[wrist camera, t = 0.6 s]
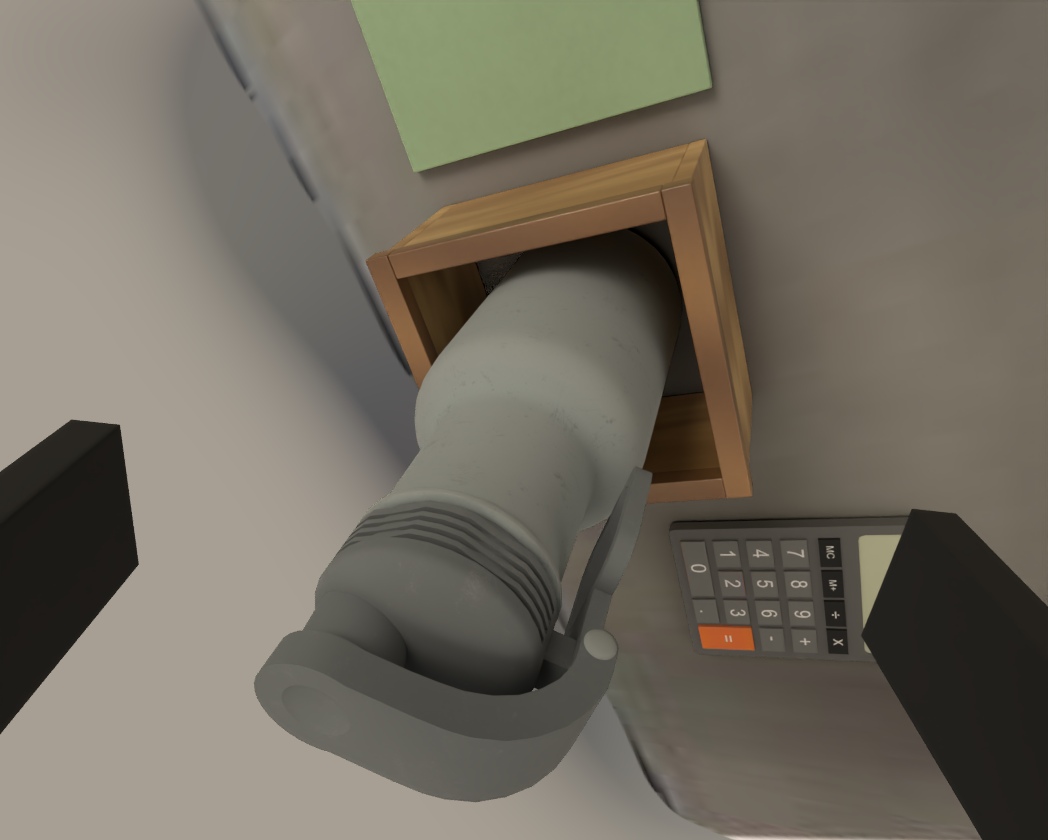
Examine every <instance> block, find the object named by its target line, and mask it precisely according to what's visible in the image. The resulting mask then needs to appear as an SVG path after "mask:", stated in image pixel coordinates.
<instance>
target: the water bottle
mask: <svg viewBox="0 0 1048 840" xmlns="http://www.w3.org/2000/svg"><path fill="white" fill-rule="evenodd" d="M681 313H682V307H681V297H680V292H679V288H678V285H677V282H676V279H675V276H674V274H673V272H672V271H671V269H670V267H669V265H668V264H667V262H666V260H665V259H664V258H663V257H662V256H661V254H660V253H659V252H658V251H657V250H656V249H655V248H654V247H653V246H652V245H651V244H649V243H648V242H647V241H646V240H644V239H643V238H642V237H640V236H639V235H637V234H635V233H633V232H631V231H629V230H627V229H623V230H619V231H614V232H609V233H605V234H600V235H596V236H591V237H587V238H582V239H578V240H573V241H569V242H564V243H560V244H555V245H551V246H546V247H542V248H537V249H533V250H528V251H525V252H524V253H523V254H522V256H521V257H520V258H519V259H518V260H517V262H516V263H515V264H514V265H513V266H512V268H511V269H510V270H509V271H508V273H507V274H506V275H505V276H504V277H503V279H502V280H501V281H500V282H499V283H498V285H497V286H496V287H495V288H494V289H493V291H492V292H491V293H490V294H489V296H488V297H487V298H486V299H485V300H484V302H483V303H482V304H481V305H480V306H479V308H478V309H477V310H476V311H475V312H474V314H473V315H472V316H471V317H470V318H469V320H468V321H467V322H466V323H465V325H464V326H463V327H462V328H461V329H460V331H459V332H458V333H457V334H456V335H455V337H454V338H453V339H452V340H451V341H450V343H449V344H448V345H447V346H446V348H445V349H444V350H443V351H442V352H441V354H440V355H439V356H438V358H437V359H436V361H435V362H434V364H433V365H432V367H431V368H430V369H429V371H428V373H427V374H426V376H425V378H424V380H423V382H422V385H421V388H420V391H419V394H418V396H417V401H416V409H415V427H416V436H417V441H418V444H419V447H420V452H419V453H418V455H417V456H416V458H415V459H414V460H413V462H412V463H411V465H410V466H409V467H408V469H407V470H406V472H405V473H404V474H403V476H402V477H401V479H400V480H399V481H398V483H397V484H396V486H395V487H394V489H393V490H392V491H391V493H390V494H389V495H388V496H385V497H383V498H382V499H381V500H379V501H378V502H377V503H375V504H374V505H373V506H372V507H370V508H369V509H368V511H367V512H366V514H365V515H364V516H363V518H362V519H361V521H360V523H359V524H358V525H357V527H356V529H355V530H354V531H353V532H352V534H351V535H350V536H349V538H348V539H347V541H346V542H345V544H344V545H343V546H342V547H341V549H340V550H339V552H338V553H337V554H336V556H335V557H334V559H333V560H332V561H331V563H330V564H329V565H328V567H327V568H326V570H325V571H324V572H323V574H322V575H321V577H320V579H319V582H318V585H317V588H316V591H315V611H314V612H313V614H312V616H311V617H310V619H309V621H308V622H307V624H306V626H305V627H304V629H303V631H297V632H293V633H290V634H288V635H287V636H285V637H284V638H283V639H282V641H281V642H280V643H279V645H278V646H277V648H276V649H275V650H274V652H273V653H272V654H271V656H270V657H269V659H268V660H267V661H266V663H265V664H264V666H263V667H262V668H261V670H260V671H259V673H258V674H257V675H256V678H255V682H254V687H255V693H256V696H257V698H258V700H259V702H260V704H261V706H262V707H263V708H264V710H265V711H266V712H267V714H268V715H269V716H270V717H271V718H272V719H273V720H274V721H275V722H276V723H277V724H278V725H279V726H281V727H282V728H283V729H284V730H286V731H287V732H288V733H290V734H292V735H293V736H295V737H296V738H298V739H299V740H301V741H304V742H305V743H307V744H309V745H311V746H314V747H316V748H319V749H321V750H325V751H328V752H331V753H333V754H335V755H338V756H340V757H342V758H344V759H346V760H348V761H350V762H353V763H355V764H357V765H359V766H361V767H363V768H366V769H368V770H370V771H372V772H374V773H376V774H379V775H381V776H383V777H385V778H387V779H390V780H392V781H394V782H396V783H399V784H401V785H404V786H406V787H409V788H411V789H414V790H416V791H418V792H421V793H424V794H427V795H431V796H435V797H438V798H442V799H448V800H459V801H470V802H480V801H485V800H491V799H497V798H503V797H507V796H509V795H512V794H514V793H517V792H519V791H522V790H524V789H527V788H529V787H532V786H533V785H534V784H536V783H537V782H538V781H540V780H541V779H542V778H544V777H545V776H546V775H548V774H549V773H550V772H552V770H554V769H555V768H556V767H557V765H558V764H559V763H560V762H561V760H562V759H563V758H564V756H565V755H566V754H567V753H568V751H569V750H570V749H571V747H572V745H573V744H574V742H575V741H576V739H577V737H578V736H579V734H580V732H581V731H582V729H583V728H584V726H585V724H586V723H587V721H588V720H589V718H590V716H591V715H592V713H593V712H594V710H595V708H596V707H597V705H598V703H599V702H600V700H601V699H602V697H603V695H604V694H605V692H606V691H607V689H608V686H609V683H610V680H611V678H612V675H613V672H614V668H615V663H616V659H617V655H618V649H619V648H618V643H617V641H616V639H615V638H614V636H613V635H612V634H611V633H609V632H608V631H606V630H604V625H605V621H606V617H607V613H608V610H609V606H610V602H611V598H612V595H613V593H614V591H615V589H616V587H617V586H618V584H619V582H620V580H621V578H622V576H623V574H624V572H625V570H626V568H627V565H628V563H629V560H630V558H631V555H632V553H633V550H634V547H635V544H636V541H637V538H638V534H639V531H640V526H641V522H642V518H643V514H644V510H645V506H646V501H647V497H648V493H649V489H650V485H651V480H652V473H651V472H648V471H646V470H644V469H642V468H643V465H644V462H645V459H646V455H647V451H648V447H649V443H650V440H651V436H652V432H653V428H654V424H655V420H656V417H657V413H658V409H659V405H660V401H661V397H662V394H663V390H664V386H665V382H666V378H667V374H668V371H669V367H670V363H671V359H672V355H673V351H674V348H675V344H676V340H677V336H678V332H679V328H680V322H681ZM608 517H609V519H608V521H607V523H606V525H605V527H604V529H603V531H602V533H601V535H600V537H599V539H598V541H597V543H596V545H595V547H594V549H593V552H592V554H591V556H590V559H589V561H588V563H587V566H586V569H585V571H584V574H583V577H582V580H581V583H580V586H579V589H578V592H577V595H576V599H575V602H574V605H573V608H572V612H571V615H570V618H569V621H568V624H567V628H566V631H565V634H564V635H563V634H561V633H558V632H556V631H554V630H553V629H554V626H555V623H556V621H557V619H558V616H559V612H560V609H561V604H562V587H561V581H562V578H563V575H564V572H565V569H566V566H567V563H568V560H569V558H570V555H571V552H572V549H573V546H574V543H575V540H576V537H577V534H578V532H579V531H582V530H585V529H588V528H590V527H592V526H594V525H596V524H598V523H600V522H601V521H603V520H605V519H607V518H608ZM533 688H536V689H538V690H535V691H532V690H533ZM531 691H532V692H531Z"/></svg>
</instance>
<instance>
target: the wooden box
mask: <svg viewBox="0 0 1048 840" xmlns="http://www.w3.org/2000/svg"><path fill="white" fill-rule="evenodd" d="M666 219H667V222H668V227H669V231H670V236H671V241H672V246H673V250H674V255H675V260H676V264H677V269H678V274H679V278H680V283H681V288H682V292H683V297H684V302H685V306H686V311H687V316H688V320H689V325H690V330H691V334H692V339H693V344H694V348H695V353H696V358H697V362H698V367H699V372H700V377H701V381H702V386H703V391H704V392H703V393H695V394H687V395H679V396H671V397H663V398H661V401H660V405H659V409H658V413H657V417H656V420H655V424H654V428H653V432H652V436H651V440H650V443H649V447H648V451H647V455H646V459H645V462H644V465H643V468H642V469H644V470H646V471H648V472H651V473H652V480H651V485H650V489H649V493H648V497H647V501H646V504H647V503H662V502H677V501H692V500H708V499H723V498H726V497H727V498H738V497H751V496H752V489H753V483H752V478H751V472H750V467H749V452H750V435H751V417H752V400H753V397H752V392H751V386H750V380H749V375H748V369H747V364H746V358H745V352H744V347H743V341H742V336H741V330H740V325H739V319H738V313H737V308H736V302H735V297H734V291H733V285H732V280H731V274H730V269H729V263H728V257H727V252H726V246H725V241H724V235H723V230H722V224H721V218H720V213H719V207H718V202H717V196H716V190H715V185H714V179H713V174H712V168H711V163H710V157H709V151H708V146H707V140H706V139H703V140H699V141H695V142H692V143H690V144H684V145H681V146H677V147H673V148H669V149H665V150H661V151H658V152H654V153H650V154H646V155H642V156H638V157H634V158H631V159H627V160H623V161H619V162H615V163H611V164H608V165H604V166H600V167H596V168H592V169H588V170H584V171H581V172H577V173H573V174H569V175H565V176H561V177H558V178H554V179H550V180H546V181H542V182H538V183H534V184H531V185H527V186H523V187H519V188H515V189H511V190H508V191H504V192H500V193H496V194H492V195H488V196H485V197H481V198H477V199H473V200H469V201H465V202H461V203H458V204H455V205H450V206H446V207H443V208H442V209H441V210H439V211H438V212H437V213H435V214H434V215H433V216H432V217H430V218H429V219H428V220H426V221H425V222H424V223H423V224H421V225H420V226H419V227H418V228H416V229H415V230H414V231H412V232H411V233H410V234H409V235H407V236H406V237H405V238H404V239H402V240H401V241H400V242H398V243H397V244H396V245H395V246H393V247H392V248H391V249H390V250H388V251H383V252H379V253H375V254H374V255H373V256H371V257H370V258H369V259H367V260H366V263H367V266H368V268H369V270H370V273H371V275H372V277H373V280H374V282H375V285H376V287H377V289H378V292H379V294H380V297H381V299H382V301H383V304H384V306H385V308H386V311H387V313H388V316H389V318H390V320H391V323H392V325H393V328H394V330H395V332H396V335H397V337H398V339H399V342H400V344H401V347H402V349H403V351H404V354H405V356H406V359H407V361H408V363H409V366H410V368H411V370H412V373H413V375H414V378H415V380H416V382H417V385H418V387H419V389H420V388H421V385H422V382H423V380H424V378H425V376H426V374H427V373H428V371H429V369H430V368H431V367H432V365H433V364H434V362H435V361H436V359H437V358H438V356H439V355H440V354H441V352H442V351H443V350H444V349H445V348H446V346H447V345H448V344H449V343H450V341H451V340H452V339H453V338H454V337H455V335H456V334H457V333H458V332H459V331H460V329H461V328H462V327H463V326H464V325H465V323H466V322H467V321H468V320H469V318H470V317H471V316H472V315H473V314H474V312H475V311H476V310H477V309H478V308H479V306H480V305H481V304H482V303H483V302H484V300H485V299H486V298H487V295H486V292H485V289H484V286H483V283H482V281H481V278H480V275H479V272H478V269H477V266H476V263H475V262H478V261H483V260H487V259H492V258H496V257H501V256H505V255H510V254H515V253H519V252H524V251H528V250H533V249H537V248H542V247H546V246H551V245H555V244H560V243H564V242H569V241H573V240H578V239H582V238H587V237H591V236H596V235H600V234H605V233H609V232H614V231H619V230H623V229H628V228H632V227H637V226H641V225H646V224H650V223H655V222H659V221H664V220H666Z"/></svg>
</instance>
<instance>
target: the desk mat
mask: <svg viewBox="0 0 1048 840" xmlns="http://www.w3.org/2000/svg"><path fill="white" fill-rule="evenodd" d="M351 2H352V5H353V8H354V11H355V13H356V16H357V19H358V22H359V24H360V27H361V30H362V33H363V35H364V38H365V41H366V43H367V46H368V49H369V52H370V54H371V57H372V60H373V63H374V65H375V68H376V71H377V73H378V76H379V79H380V82H381V84H382V87H383V90H384V93H385V95H386V98H387V101H388V104H389V106H390V109H391V112H392V114H393V117H394V120H395V123H396V125H397V128H398V131H399V134H400V136H401V139H402V142H403V144H404V147H405V150H406V153H407V155H408V158H409V161H410V164H411V166H412V169H413V172H414V173H417V172H421V171H424V170H428V169H431V168H435V167H438V166H442V165H445V164H449V163H452V162H456V161H459V160H463V159H466V158H470V157H473V156H477V155H480V154H484V153H487V152H490V151H494V150H497V149H501V148H504V147H508V146H511V145H515V144H518V143H522V142H525V141H529V140H532V139H536V138H539V137H543V136H546V135H550V134H553V133H557V132H560V131H564V130H567V129H571V128H574V127H578V126H581V125H585V124H588V123H592V122H595V121H599V120H602V119H606V118H609V117H613V116H616V115H620V114H623V113H627V112H630V111H634V110H637V109H640V108H644V107H647V106H651V105H654V104H658V103H661V102H665V101H668V100H672V99H675V98H679V97H682V96H686V95H689V94H693V93H696V92H700V91H703V90H707V89H710V88H712V85H713V84H712V78H711V73H710V67H709V61H708V55H707V49H706V43H705V37H704V31H703V25H702V19H701V14H700V8H699V2H698V0H351Z"/></svg>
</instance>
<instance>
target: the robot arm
mask: <svg viewBox="0 0 1048 840" xmlns="http://www.w3.org/2000/svg"><path fill="white" fill-rule="evenodd" d="M138 565H139V563H138V555H137V548H136V541H135V533H134V526H133V519H132V512H131V504H130V496H129V489H128V482H127V474H126V467H125V459H124V452H123V444H122V437H121V430H120V425H117V424H107V423H98V422H88V421H79V420H70V421H69V422H68V423H66V424H65V425H64V426H62V427H61V428H59V429H58V430H57V431H55V432H54V433H53V434H51V435H50V436H48V437H47V438H46V439H44V440H43V441H42V442H40V443H39V444H38V445H36V446H35V447H33V448H32V449H31V450H29V451H28V452H27V453H25V454H24V455H23V456H21V457H20V458H18V459H17V460H16V461H14V462H13V463H12V464H10V465H9V466H8V467H6V468H5V469H3V470H2V471H1V472H0V734H1V733H2V731H3V730H4V729H5V728H6V726H7V725H8V724H9V723H10V721H11V720H12V719H13V718H14V717H15V715H16V714H17V713H18V712H19V711H20V709H21V708H22V707H23V706H24V704H25V703H26V702H27V701H28V700H29V698H30V697H31V696H32V695H33V693H34V692H35V691H36V690H37V688H38V687H39V686H40V685H41V684H42V682H43V681H44V680H45V679H46V677H47V676H48V675H49V674H50V673H51V671H52V670H53V669H54V668H55V666H56V665H57V664H58V663H59V661H60V660H61V659H62V658H63V657H64V655H65V654H66V653H67V652H68V650H69V649H70V648H71V647H72V646H73V644H74V643H75V642H76V641H77V639H78V638H79V637H80V636H81V634H82V633H83V632H84V631H85V630H86V628H87V627H88V626H89V625H90V624H91V622H92V621H93V620H94V619H95V617H96V616H97V615H98V614H99V612H100V611H101V610H102V609H103V608H104V606H105V605H106V604H107V603H108V601H109V600H110V599H111V598H112V597H113V595H114V594H115V593H116V591H117V590H118V589H119V588H120V587H121V585H122V584H123V583H124V582H125V580H126V579H127V578H128V577H129V576H130V574H131V573H132V572H133V571H134V569H135V568H136V567H137V566H138ZM861 637H862V638H863V640H864V642H865V643H866V645H867V647H868V648H869V650H870V652H871V653H872V655H873V657H874V658H875V660H876V662H877V664H878V665H879V667H880V669H881V670H882V672H883V674H884V675H885V677H886V679H887V680H888V682H889V684H890V685H891V687H892V689H893V690H894V692H895V694H896V695H897V697H898V699H899V700H900V702H901V704H902V706H903V707H904V709H905V711H906V712H907V714H908V716H909V717H910V719H911V721H912V722H913V724H914V726H915V727H916V729H917V731H918V732H919V734H920V736H921V737H922V739H923V741H924V742H925V744H926V746H927V748H928V749H929V751H930V753H931V754H932V756H933V758H934V759H935V761H936V763H937V764H938V766H939V768H940V769H941V771H942V773H943V774H944V776H945V778H946V779H947V781H948V783H949V784H950V786H951V788H952V790H953V791H954V793H955V795H956V796H957V798H958V800H959V801H960V803H961V805H962V806H963V808H964V810H965V811H966V813H967V815H968V816H969V818H970V820H971V821H972V823H973V825H974V826H975V828H976V830H977V831H978V833H979V835H980V837H981V838H982V840H1048V606H1047V605H1046V604H1045V603H1044V602H1043V601H1042V600H1041V599H1040V598H1039V597H1038V596H1037V595H1036V594H1035V593H1034V592H1033V591H1032V590H1031V589H1030V588H1029V587H1028V586H1027V585H1026V584H1025V583H1024V582H1023V581H1022V580H1021V579H1020V578H1019V577H1018V576H1017V575H1016V574H1015V573H1014V572H1013V571H1012V570H1011V569H1010V568H1009V567H1008V566H1007V565H1006V564H1005V563H1004V562H1003V561H1002V560H1001V559H1000V558H999V557H998V556H997V555H996V554H995V553H994V552H993V551H992V550H991V549H990V548H989V547H988V546H987V545H986V544H985V542H984V541H983V540H982V539H981V538H980V537H979V536H978V535H977V534H976V533H975V532H974V531H973V530H972V529H971V528H970V527H969V526H968V525H967V524H966V523H965V522H964V521H963V520H962V519H961V518H960V517H959V516H958V515H957V514H955V513H946V512H936V511H927V510H917V509H912V510H911V513H910V515H909V518H908V520H907V522H906V525H905V527H904V530H903V532H902V535H901V537H900V540H899V542H898V545H897V547H896V550H895V552H894V555H893V557H892V560H891V562H890V565H889V567H888V570H887V572H886V575H885V577H884V580H883V582H882V585H881V587H880V589H879V592H878V594H877V597H876V599H875V602H874V604H873V607H872V609H871V612H870V614H869V617H868V619H867V622H866V624H865V627H864V629H863V632H862V634H861Z"/></svg>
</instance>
